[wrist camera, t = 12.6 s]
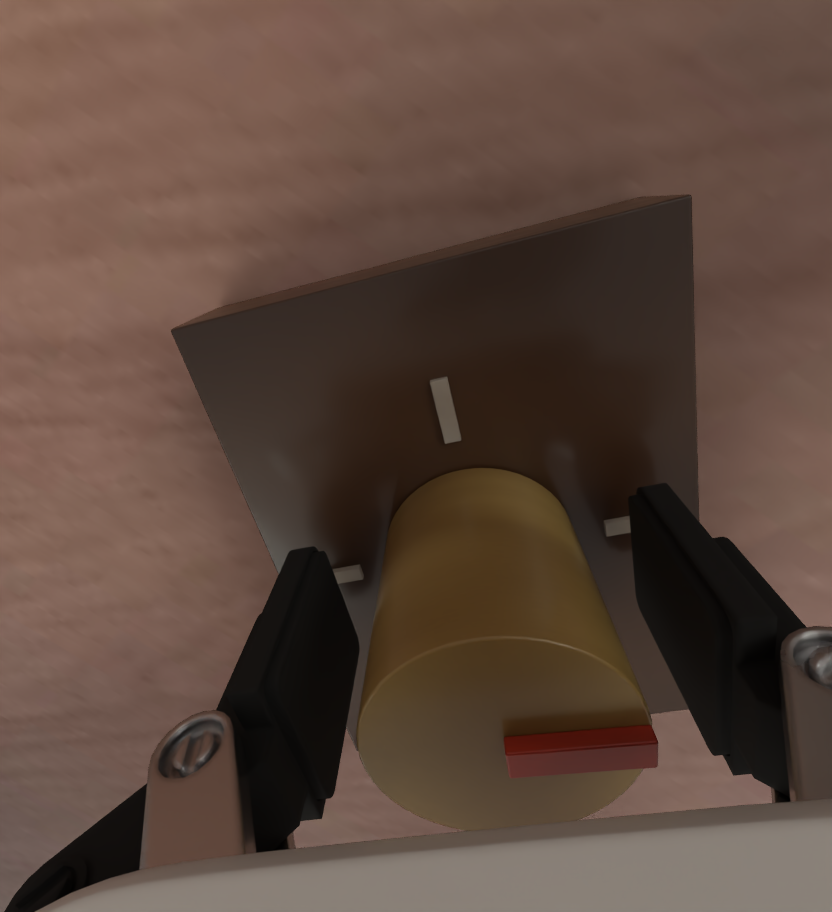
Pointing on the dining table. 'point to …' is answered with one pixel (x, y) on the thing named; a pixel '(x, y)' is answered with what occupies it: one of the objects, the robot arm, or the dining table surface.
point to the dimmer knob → (496, 663)
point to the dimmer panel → (468, 396)
